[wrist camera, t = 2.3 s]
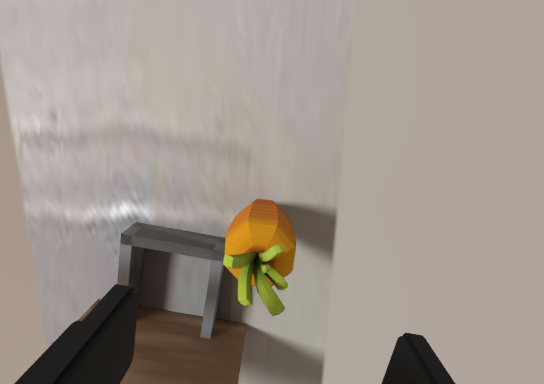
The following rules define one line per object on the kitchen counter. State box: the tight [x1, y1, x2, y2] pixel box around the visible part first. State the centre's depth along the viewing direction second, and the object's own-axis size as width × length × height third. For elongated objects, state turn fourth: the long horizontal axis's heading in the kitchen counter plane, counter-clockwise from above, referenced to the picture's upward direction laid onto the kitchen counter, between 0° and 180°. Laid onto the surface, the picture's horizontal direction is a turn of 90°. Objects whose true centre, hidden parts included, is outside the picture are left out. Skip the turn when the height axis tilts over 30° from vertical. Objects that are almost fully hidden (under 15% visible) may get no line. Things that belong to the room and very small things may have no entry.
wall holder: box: [78, 222, 246, 384], centre depth 21 cm, size 11×16×20 cm
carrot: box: [223, 199, 296, 316], centre depth 22 cm, size 5×5×15 cm
